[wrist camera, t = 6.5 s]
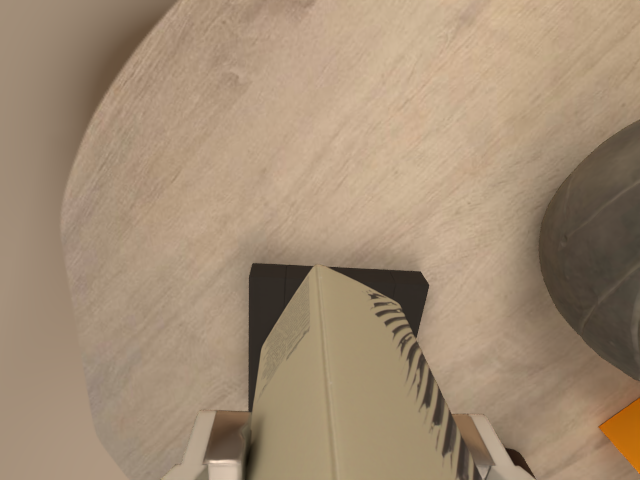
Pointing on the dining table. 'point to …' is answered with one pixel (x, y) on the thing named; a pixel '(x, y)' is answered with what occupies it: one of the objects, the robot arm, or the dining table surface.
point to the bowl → (599, 250)
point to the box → (350, 393)
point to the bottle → (519, 460)
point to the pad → (283, 281)
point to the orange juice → (626, 432)
